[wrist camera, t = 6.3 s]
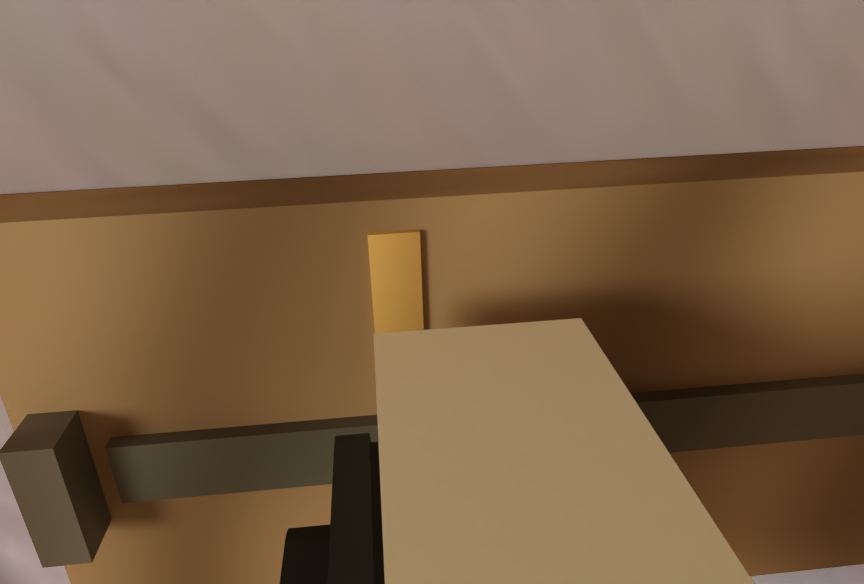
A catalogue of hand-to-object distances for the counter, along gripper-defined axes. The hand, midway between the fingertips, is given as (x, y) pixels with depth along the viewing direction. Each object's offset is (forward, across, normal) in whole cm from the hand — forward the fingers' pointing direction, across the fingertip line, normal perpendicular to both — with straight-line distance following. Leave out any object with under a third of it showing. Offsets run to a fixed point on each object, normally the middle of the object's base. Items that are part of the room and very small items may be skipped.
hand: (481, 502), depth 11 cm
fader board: (+3, -3, 0) cm, 5 cm away
